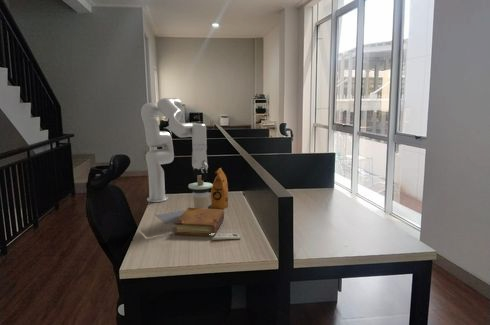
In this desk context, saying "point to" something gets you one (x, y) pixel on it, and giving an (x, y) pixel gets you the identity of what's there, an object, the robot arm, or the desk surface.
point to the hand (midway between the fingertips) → (200, 178)
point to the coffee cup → (200, 198)
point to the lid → (200, 184)
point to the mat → (170, 216)
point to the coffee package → (219, 191)
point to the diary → (199, 221)
